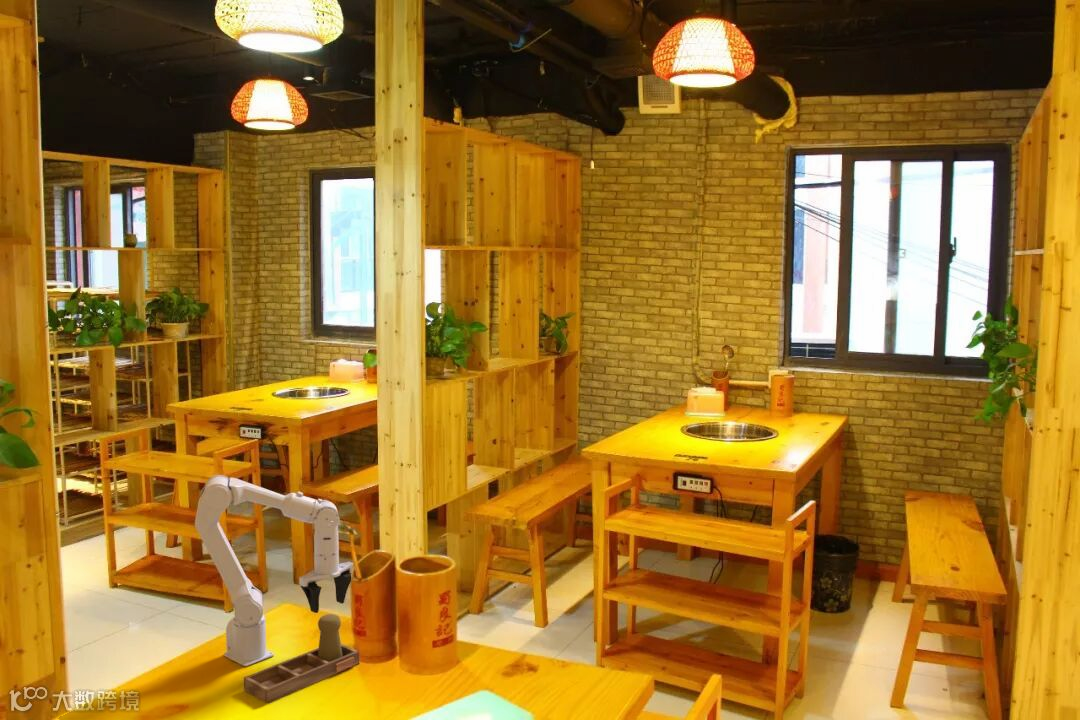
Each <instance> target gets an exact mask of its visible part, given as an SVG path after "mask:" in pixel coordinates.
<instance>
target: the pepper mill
mask: <svg viewBox="0 0 1080 720" xmlns="http://www.w3.org/2000/svg"><path fill="white" fill-rule="evenodd" d="M317 626H318V627H317V628H318V630H319V631H320V634H319V639H318V641H319V643H318V648H319V649H318V657H319V658H321V659H323V660H326V661H328V662H331V661H333V660H336V659H338V658H340V657H343V655H342V648H341V644H342V643H341V637H340V631H339V629H340V628H341V626H342V621H341V617H340V616H339V615H337V614H334V613H329V614H324V615H322V616H320V618H319V619H318V622H317Z"/></svg>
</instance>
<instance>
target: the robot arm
mask: <svg viewBox="0 0 1080 720" xmlns="http://www.w3.org/2000/svg"><path fill="white" fill-rule="evenodd" d="M232 502H233V506H237V505H240V504H241V503H244V502H251V503H254V504H255V503H256V504H259V505H263V506H268V507H271V508H275V509H279V510H280V511H281V513H282V515H283V516H284V517H287V518H291V519H292V520H293V519H294V520H296V521H300V522H304V523H307V524H314V533H313V546H314V547H313V548H314V549H313V550H314V552H313V553H314V555H313V558H314V569H313V570H311V571H309V572H307V573H306V574H304V575H302V576H299V581H298V582H299V586H300V588H301V590H302V591H303V593H304V595H305V597H306V599H307V602H308V605H309V610H310V611H311V612H313V613H315V614H316V613H319V612H320V611H319V610H320V595H321V590H322V586H319V585H318V583H317V582H319V581H323V580H327V579H329V578H333V581H334V586H335V600H336V602H337V603H339V604H344V603H345V601H346V595H347V593H348V590H349V586H350V584H351V582H352V581H351V574H353V573H352V572H353V571H354V563H353V562H351V561H346V562H342V563H340V553H339V551H340V547H339V546H340V544H339V537H340V536H339V531H338V530H339V523H340V520H341V518H340V516H339V511H338V508H337V506H336V505H335V504H334V503H333V502H332V501H329V500H328V499H322V498H318V499H315V498H312V497H308V496H305V495H304V493H303V492H301V491H297V493H296V492H290V493H287V494H285V495H284V494H281V493H278V492H276V491H272V490H270V489H267V488H264V487H262V486H259V485H256V484H253V483H250V482H247V481H244V480H242V479H239V478H236V477H232V476H231V477H230V478H229V477H228V476H226V475H223V474H215V475H212V476H211V477H209V478H208V480H207V481H206V482H205V484H204V486H203V488H202V489H201V490H200V495H199V499H198V504H197V509H196V515H195V520H194V527H195V529H196V531H197V533H198V535H199V536H200V538H201V541H202V543H203V545H204V547H205V548H206V550H207V552H208V554H209V556H210V558H211V560H212V562H213V564H214V566H215V567H216V569H217V571H218V573H219V575H220V577H221V579H222V581H223V582H224V584H225V586H226V589H227V590H228V593H229V597H230V601H231V603H232V605H233V608H234V616H233V617H232V618H231V619H230V620H229V621H228V622H227V625H226V629H225V636H226V637H225V638H226V640H225V641H226V642H225V644H226V652H223V654H222V655H223V656H224V657H226V658H228V659H230V660H231V661H233V662H235V663H238V664H239V665H241V666H243V667H249V666H250V665H254V664H256V663H259V662H261V661H264V660H266V659H268V658H271V657H274V655H275V653H274V652H272V651H270V650H268V649H267V632H266V631H267V629H266V626H267V625H266V621H267V620H266V615H265V614H264V609H263V603H264V596H263V595H264V594H263V593H262V591H261V590H260V589H258V588H257V587H256V586H254V585H253V582H252V581H251V580H250V579H249V578H248V576H247V575H246V573H245V571H244V569H243V566H242V565H241V564H240V561H239V559H238V557H237V555H236V553H235V551H234V550H233V548H232V545H231V544H230V542H229V540H228V537H227V536H226V533H225V532H224V529H223V528H222V526H221V523H220V522H219V520H220V518H221V516H222V513H223V512H224V511H225V510H226V509H227V508H228V507H229V506H230V504H231V503H232ZM331 521H333V522H331ZM328 524H330V525H328ZM329 527H330V528H329ZM328 529H330V530H328Z"/></svg>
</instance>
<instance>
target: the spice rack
mask: <svg viewBox="0 0 1080 720" xmlns="http://www.w3.org/2000/svg"><path fill="white" fill-rule="evenodd" d="M341 648H342V655H343V657H340V658H338V659H336V660H333V661H331V662H328V661H326V660H323V659H321V658H319V657H318V649H319V647H318V648H315V649H312V650H310V651H307V652H305V653H302V654H299V655H298V656H295V657H291V658H290V659H286V660H284V661H282V662H280V663H277V664H275V665H272V666H270V667H267V668H263V669H262V670H259V671H257V672H255V673H252V674H250V675H247V676H245V677H243V691H244V692H246V693H247V692H248V693H247V694H249V693H250V694H249V695H251V694H252V695H251V696H253V697H255V698H256V699H258V698H259V699H258V700H260V701H262V700H263V701H262V702H264V701H265V702H264V703H266V704H267V703H268V704H270V703H271V702H272V703H273V702H274V700H275V701H277V700H279V699H281V698H283V697H286V696H288V695H290V694H293V693H295V692H298V691H300V690H302V689H304V687H305V688H306V686H307V687H309V686H311V684H312V685H313V684H316V683H318V682H321V681H323V680H325V679H327V678H329V677H332V676H335V675H337V674H339V673H341V671H342V672H344V671H346V670H348V669H347V668H349V667H351V666H353V667H355V666H357V665H356V664H358V663H359V664H360V651H358V650H357V649H355V648H353V647H350V646H347V645H346V644H343V643H341ZM359 664H358V665H359ZM354 665H355V666H354ZM351 668H352V667H351ZM345 669H346V670H345ZM349 669H350V668H349ZM343 670H344V671H343ZM338 672H339V673H338ZM334 674H335V675H334ZM322 679H323V680H322ZM320 680H321V681H320ZM269 702H270V703H269Z"/></svg>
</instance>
